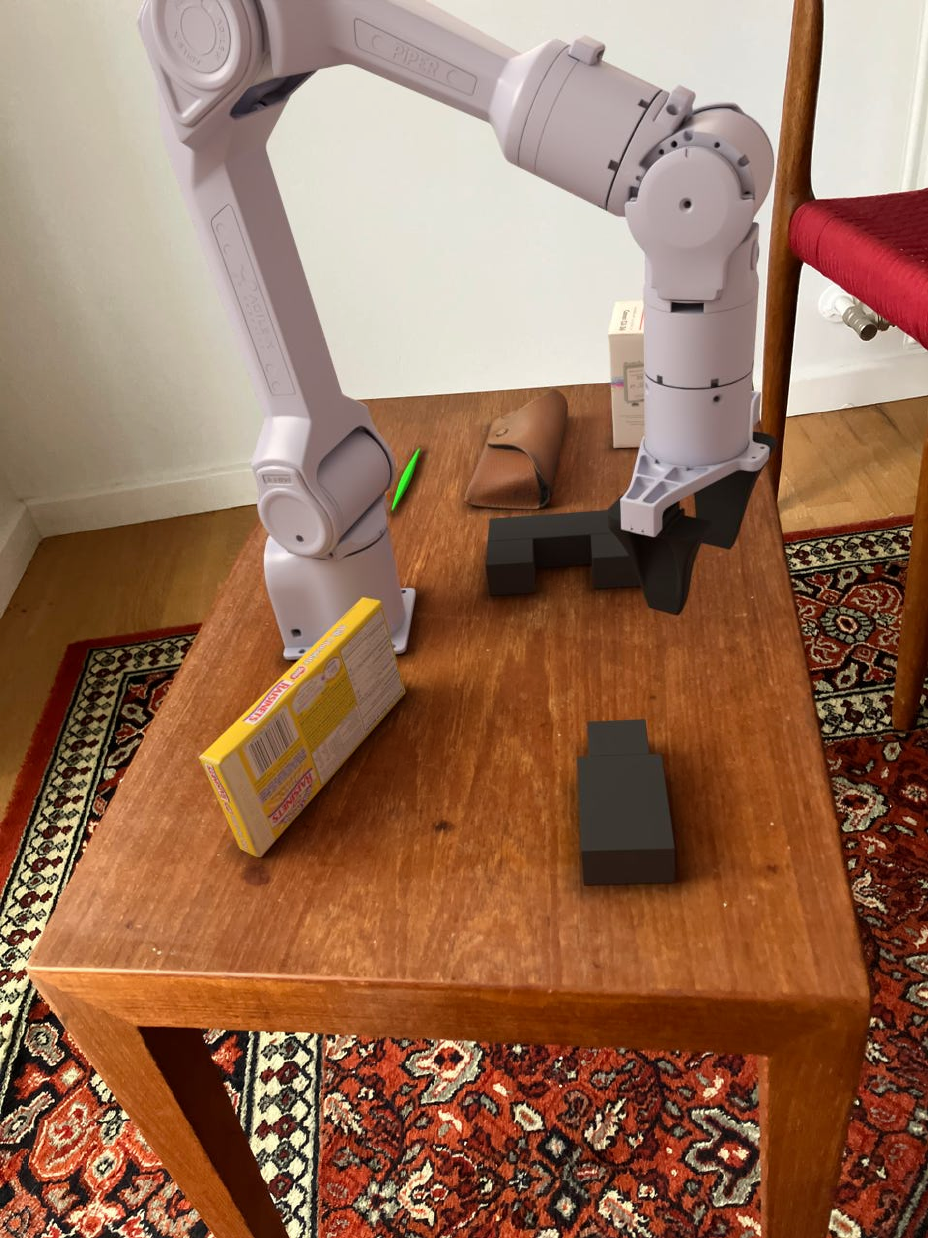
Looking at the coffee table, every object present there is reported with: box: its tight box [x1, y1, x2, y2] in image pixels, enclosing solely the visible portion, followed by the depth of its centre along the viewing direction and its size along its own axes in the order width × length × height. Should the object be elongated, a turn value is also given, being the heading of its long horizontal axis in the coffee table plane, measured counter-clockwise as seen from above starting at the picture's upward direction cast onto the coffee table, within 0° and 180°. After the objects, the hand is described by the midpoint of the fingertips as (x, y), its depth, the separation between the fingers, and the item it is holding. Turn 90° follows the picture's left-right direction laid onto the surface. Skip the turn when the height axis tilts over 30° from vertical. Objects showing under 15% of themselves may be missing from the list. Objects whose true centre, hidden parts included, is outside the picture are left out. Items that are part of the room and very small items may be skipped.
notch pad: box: [485, 509, 641, 596], centre depth 77 cm, size 12×7×3 cm, turn 86°
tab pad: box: [576, 718, 676, 886], centre depth 55 cm, size 5×10×3 cm, turn 176°
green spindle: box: [389, 444, 422, 516], centre depth 92 cm, size 1×14×1 cm, turn 170°
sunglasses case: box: [463, 388, 569, 511], centre depth 92 cm, size 18×7×7 cm
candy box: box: [198, 597, 407, 858], centre depth 60 cm, size 16×2×8 cm, turn 149°
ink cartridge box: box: [607, 299, 644, 449], centre depth 91 cm, size 9×5×15 cm, turn 168°
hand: (692, 574), depth 59 cm, fingers open, 7 cm apart
